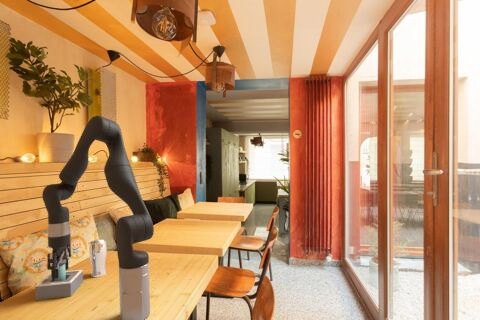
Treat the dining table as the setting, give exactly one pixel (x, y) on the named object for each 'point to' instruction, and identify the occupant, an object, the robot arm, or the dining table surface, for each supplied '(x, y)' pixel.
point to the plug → (62, 271)
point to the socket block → (59, 286)
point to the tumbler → (98, 257)
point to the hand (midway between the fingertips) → (60, 274)
